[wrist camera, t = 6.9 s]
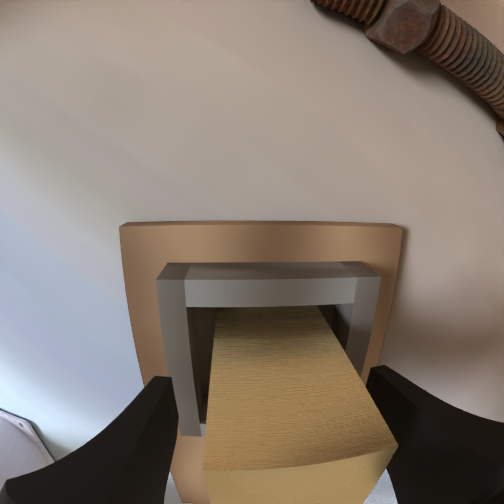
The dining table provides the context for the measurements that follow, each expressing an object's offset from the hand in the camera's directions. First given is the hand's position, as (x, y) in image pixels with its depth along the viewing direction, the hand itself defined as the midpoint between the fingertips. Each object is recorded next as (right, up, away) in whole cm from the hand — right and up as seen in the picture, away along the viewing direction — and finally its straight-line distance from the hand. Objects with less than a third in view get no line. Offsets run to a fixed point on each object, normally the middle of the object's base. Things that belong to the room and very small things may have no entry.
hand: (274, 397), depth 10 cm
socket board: (0, -4, +6) cm, 7 cm away
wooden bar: (0, +1, +3) cm, 3 cm away
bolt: (+9, +16, +1) cm, 18 cm away
